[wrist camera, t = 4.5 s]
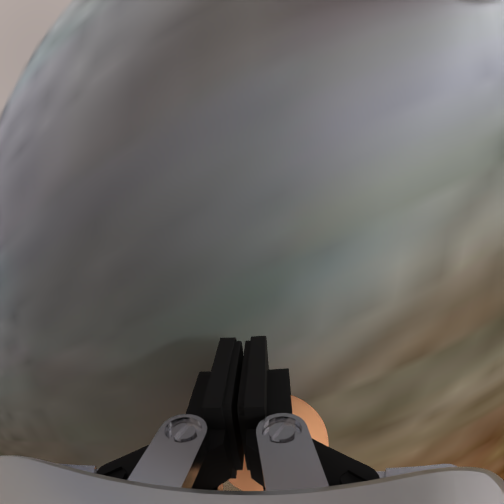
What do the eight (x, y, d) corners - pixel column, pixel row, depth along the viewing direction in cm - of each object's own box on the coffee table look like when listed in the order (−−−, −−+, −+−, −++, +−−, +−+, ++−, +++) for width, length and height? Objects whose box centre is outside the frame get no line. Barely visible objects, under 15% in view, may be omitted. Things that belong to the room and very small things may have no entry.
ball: (213, 372, 14) (191, 453, 9) (322, 365, 14) (339, 447, 9) (229, 440, 16) (218, 514, 11) (321, 435, 15) (330, 510, 10)
